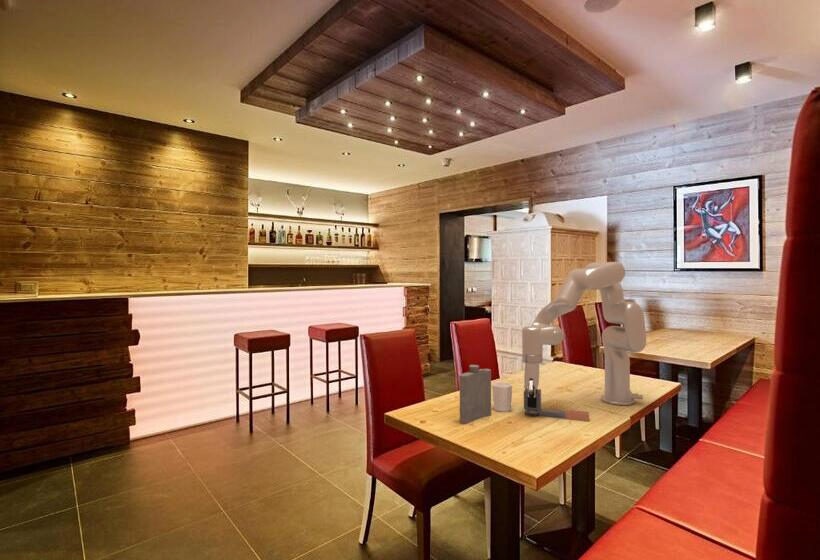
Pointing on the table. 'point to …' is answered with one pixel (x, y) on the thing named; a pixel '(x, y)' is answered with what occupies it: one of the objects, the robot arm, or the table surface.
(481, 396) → the hip flask
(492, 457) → the table surface
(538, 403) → the two-tone cube
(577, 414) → the ratchet
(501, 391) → the peach tapered cup
